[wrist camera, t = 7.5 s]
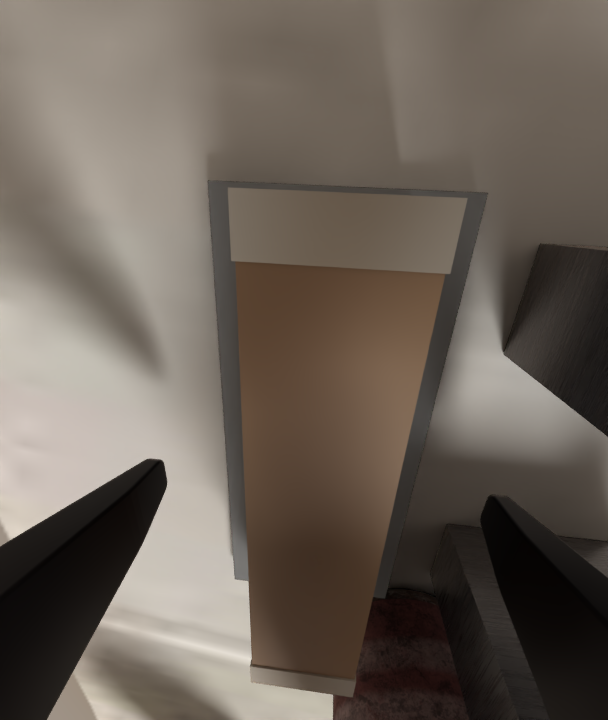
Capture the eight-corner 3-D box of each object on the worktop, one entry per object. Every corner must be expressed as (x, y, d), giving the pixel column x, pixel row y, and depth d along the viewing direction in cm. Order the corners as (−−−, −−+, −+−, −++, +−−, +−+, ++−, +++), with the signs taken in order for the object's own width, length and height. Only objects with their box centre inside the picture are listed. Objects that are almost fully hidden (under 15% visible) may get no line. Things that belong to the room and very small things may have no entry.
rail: (412, 207, 7) (467, 197, 4) (348, 587, 13) (352, 697, 10) (271, 201, 7) (227, 187, 4) (270, 577, 13) (251, 681, 10)
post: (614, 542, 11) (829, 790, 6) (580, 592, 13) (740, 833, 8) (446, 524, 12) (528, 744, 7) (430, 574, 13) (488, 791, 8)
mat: (476, 194, 8) (488, 192, 7) (382, 583, 14) (385, 598, 13) (216, 183, 8) (207, 180, 7) (238, 565, 14) (234, 579, 13)
